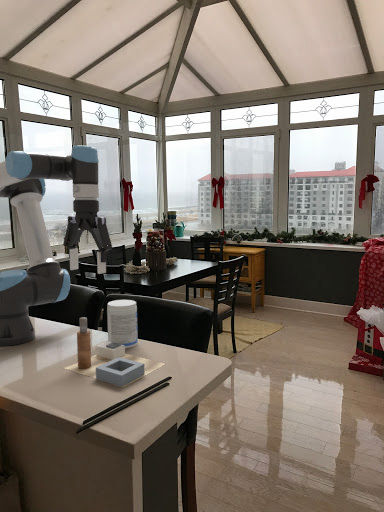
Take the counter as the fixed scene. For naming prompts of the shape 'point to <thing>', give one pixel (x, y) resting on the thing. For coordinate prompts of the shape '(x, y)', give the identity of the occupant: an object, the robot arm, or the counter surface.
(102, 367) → the socket
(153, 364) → the plywood panel
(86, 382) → the counter surface
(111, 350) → the block
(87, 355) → the awl
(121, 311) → the supplement tub
